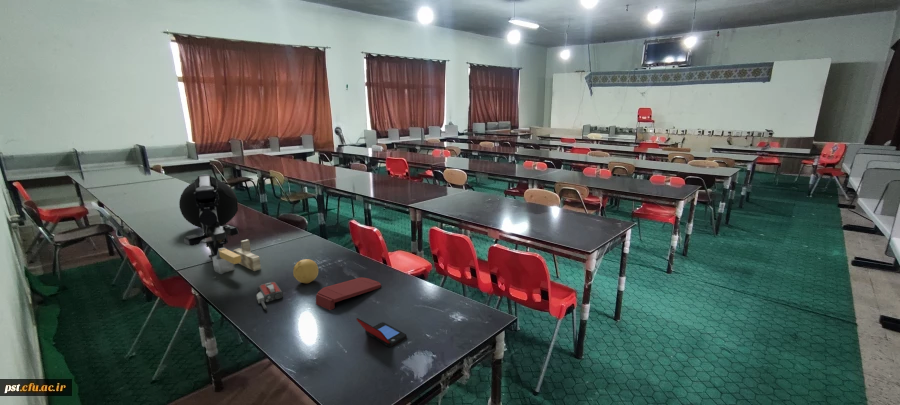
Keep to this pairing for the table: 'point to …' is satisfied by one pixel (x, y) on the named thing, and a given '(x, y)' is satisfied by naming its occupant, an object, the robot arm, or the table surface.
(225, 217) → the sphere
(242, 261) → the grey-beige crossed blocks
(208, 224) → the robot arm
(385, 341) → the handheld game console
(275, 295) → the walkie-talkie
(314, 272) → the stress ball
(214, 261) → the jamb post
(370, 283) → the dark red long block
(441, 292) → the table surface
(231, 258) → the bar
